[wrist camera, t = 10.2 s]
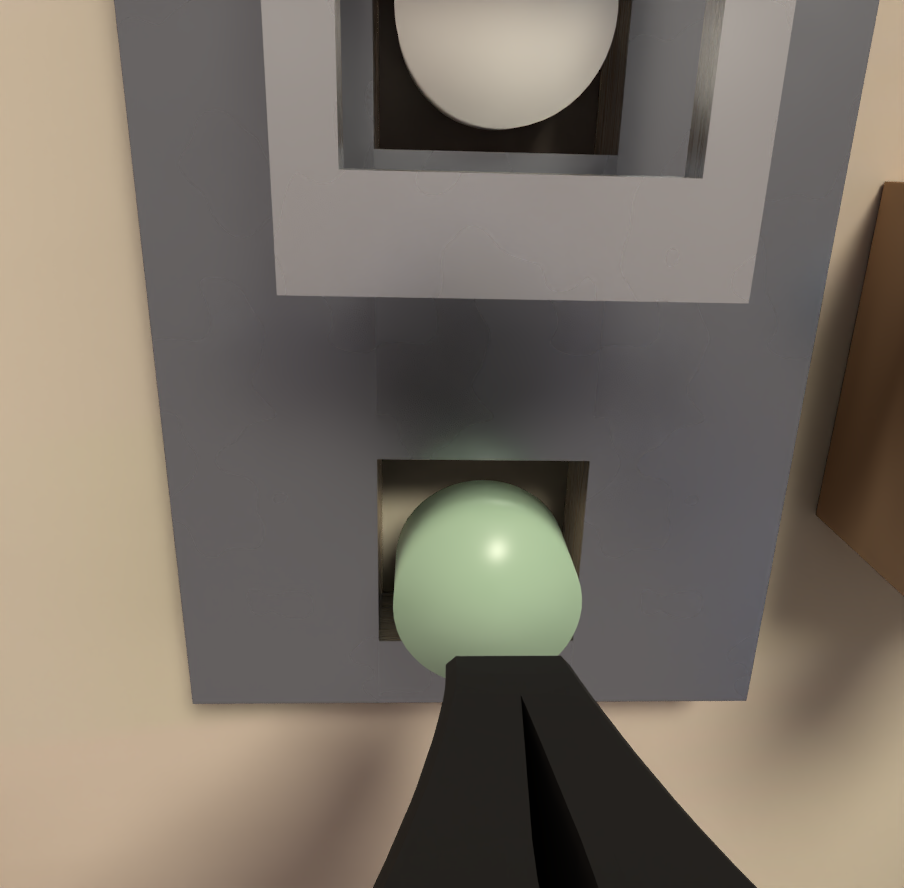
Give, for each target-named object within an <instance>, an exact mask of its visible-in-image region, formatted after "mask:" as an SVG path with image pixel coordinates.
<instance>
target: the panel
mask: <svg viewBox="0 0 904 888" xmlns="http://www.w3.org/2000/svg"><path fill="white" fill-rule="evenodd" d="M114 4H115V13H116V21H117V30H118V39H119V48H120V57H121V66H122V75H123V84H124V93H125V102H126V111H127V120H128V129H129V138H130V147H131V155H132V164H133V173H134V182H135V191H136V200H137V209H138V218H139V227H140V236H141V245H142V254H143V263H144V272H145V280H146V289H147V298H148V307H149V316H150V325H151V334H152V343H153V352H154V361H155V370H156V379H157V388H158V397H159V406H160V414H161V423H162V432H163V441H164V450H165V459H166V468H167V477H168V486H169V495H170V504H171V513H172V522H173V531H174V539H175V548H176V557H177V566H178V575H179V584H180V593H181V602H182V611H183V620H184V629H185V638H186V647H187V656H188V664H189V673H190V682H191V691H192V700H193V704H235V703H412V702H443V697H444V691H445V678H444V677H441V676H439V675H437V674H435V673H434V672H432V671H430V670H428V669H427V668H426V667H424V666H423V665H422V664H420V663H419V662H418V661H417V660H416V659H415V658H414V657H413V656H412V655H411V654H410V652H409V651H408V650H407V649H406V647H405V645H404V644H403V642H402V640H401V639H400V636H399V634H398V631H397V629H396V625H395V621H394V614H393V598H394V592H383V554H382V459H403V460H525V461H569V466H568V478H567V491H566V503H565V515H564V527H563V538H564V540H565V543H566V546H567V548H568V551H569V554H570V556H571V559H572V562H573V565H574V567H575V570H576V573H577V575H578V579H579V582H580V586H581V593H582V609H581V614H580V619H579V622H578V625H577V628H576V630H575V632H574V634H573V636H572V638H571V640H570V641H569V643H568V644H567V646H566V647H565V648H564V649H563V651H562V652H561V653H560V654H559V655H558V656H562V657H563V658H564V659H565V660H566V661H567V663H568V664H569V665H570V666H571V667H572V669H573V670H574V672H575V673H576V675H577V676H578V677H579V679H580V680H581V682H582V683H583V684H584V686H585V687H586V689H587V690H588V691H589V693H590V694H591V695H592V697H593V698H594V700H595V701H746V699H747V694H748V689H749V683H750V678H751V673H752V668H753V662H754V657H755V652H756V647H757V641H758V636H759V631H760V626H761V620H762V615H763V610H764V605H765V599H766V594H767V589H768V584H769V578H770V573H771V568H772V562H773V557H774V552H775V547H776V541H777V536H778V531H779V526H780V520H781V515H782V510H783V505H784V499H785V494H786V489H787V484H788V478H789V473H790V468H791V463H792V457H793V452H794V447H795V441H796V436H797V431H798V426H799V420H800V415H801V410H802V405H803V399H804V394H805V389H806V384H807V378H808V373H809V368H810V363H811V357H812V352H813V347H814V342H815V336H816V331H817V326H818V320H819V315H820V310H821V305H822V299H823V294H824V289H825V284H826V278H827V273H828V268H829V263H830V257H831V252H832V247H833V242H834V236H835V231H836V226H837V221H838V215H839V210H840V205H841V199H842V194H843V189H844V184H845V178H846V173H847V168H848V163H849V157H850V152H851V147H852V142H853V136H854V131H855V126H856V121H857V115H858V110H859V105H860V100H861V94H862V89H863V84H864V78H865V73H866V68H867V63H868V57H869V52H870V47H871V42H872V36H873V31H874V26H875V21H876V15H877V10H878V5H879V0H618V15H617V22H616V28H615V32H614V36H613V39H612V43H611V46H610V48H609V51H608V53H607V56H606V58H605V60H604V62H603V64H602V67H601V79H600V91H599V103H598V115H597V127H596V139H595V151H594V154H557V153H518V152H480V151H441V150H402V149H379V37H378V0H114Z"/></svg>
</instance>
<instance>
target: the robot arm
mask: <svg viewBox="0 0 904 888" xmlns="http://www.w3.org/2000/svg"><path fill="white" fill-rule="evenodd" d="M373 888H757V887H756V886H755V885H754V884H753V883H752V882H751V881H750V880H749V879H748V878H747V877H746V876H745V875H744V874H743V873H742V872H741V871H740V870H739V869H738V868H737V867H736V866H735V865H734V864H733V863H732V862H731V861H730V860H729V858H728V857H727V856H726V855H725V854H724V853H723V852H722V851H721V850H720V849H719V848H718V847H717V846H716V845H715V843H714V842H713V841H712V840H711V839H710V838H709V837H708V836H707V835H706V834H705V833H704V832H703V831H702V830H701V828H700V827H699V826H698V825H697V824H696V823H695V822H694V821H693V820H692V818H691V817H690V816H689V815H688V814H687V813H686V812H685V811H684V809H683V808H682V807H681V806H680V805H679V804H678V803H677V802H676V800H675V799H674V798H673V797H672V796H671V795H670V793H669V792H668V791H667V790H666V789H665V787H664V786H663V785H662V784H661V783H660V781H659V780H658V779H657V778H656V777H655V775H654V774H653V773H652V772H651V771H650V770H649V768H648V767H647V766H646V765H645V764H644V762H643V761H642V760H641V759H640V758H639V756H638V755H637V754H636V753H635V751H634V750H633V749H632V748H631V746H630V745H629V744H628V743H627V741H626V740H625V739H624V738H623V736H622V735H621V734H620V733H619V731H618V730H617V729H616V727H615V726H614V725H613V723H612V722H611V721H610V719H609V718H608V717H607V716H606V714H605V713H604V712H603V710H602V709H601V708H600V706H599V705H598V704H597V702H596V701H595V700H594V698H593V697H592V695H591V694H590V693H589V691H588V690H587V689H586V687H585V686H584V684H583V683H582V682H581V680H580V679H579V677H578V676H577V675H576V673H575V672H574V670H573V669H572V667H571V666H570V665H569V664H568V663H567V661H566V660H565V659H564V658H563V657H562V656H455V657H454V658H453V659H452V660H451V661H449V662H448V663H447V664H446V674H445V691H444V697H443V702H442V707H441V711H440V715H439V719H438V723H437V726H436V730H435V734H434V737H433V741H432V744H431V746H430V749H429V752H428V755H427V758H426V761H425V764H424V767H423V770H422V773H421V776H420V779H419V782H418V784H417V787H416V790H415V793H414V795H413V798H412V800H411V803H410V805H409V807H408V810H407V812H406V814H405V817H404V819H403V821H402V824H401V826H400V828H399V831H398V833H397V835H396V838H395V840H394V842H393V845H392V847H391V849H390V852H389V854H388V856H387V859H386V861H385V863H384V865H383V867H382V870H381V872H380V874H379V876H378V878H377V880H376V882H375V884H374V886H373Z"/></svg>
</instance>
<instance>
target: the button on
mask: <svg viewBox="0 0 904 888" xmlns="http://www.w3.org/2000/svg"><path fill="white" fill-rule="evenodd" d="M581 609H582V593H581V586H580V582H579V579H578V575H577V573H576V570H575V567H574V565H573V562H572V559H571V556H570V554H569V551H568V548H567V546H566V543H565V540H564V538H563V535H562V532H561V529H560V527H559V525H558V523H557V521H556V519H555V517H554V516H553V514H552V513H551V511H550V510H549V509H548V508H547V507H546V506H545V505H544V503H542V502H541V501H540V500H539V499H538V498H537V497H535V496H534V495H532V494H531V493H529V492H528V491H526V490H524V489H521V488H519V487H517V486H514V485H511V484H508V483H504V482H499V481H492V480H474V481H467V482H461V483H458V484H455V485H451V486H449V487H446V488H444V489H442V490H440V491H438V492H436V493H435V494H433V495H431V496H430V497H428V498H427V499H426V500H425V501H423V502H422V503H421V504H420V505H419V506H418V507H417V508H416V509H415V510H414V511H413V512H412V514H411V515H410V516H409V518H408V519H407V521H406V523H405V524H404V526H403V528H402V531H401V533H400V536H399V539H398V543H397V548H396V563H395V581H394V598H393V614H394V621H395V625H396V629H397V631H398V634H399V636H400V639H401V640H402V642H403V644H404V645H405V647H406V649H407V650H408V651H409V652H410V654H411V655H412V656H413V657H414V658H415V659H416V660H417V661H418V662H419V663H420V664H422V665H423V666H424V667H426V668H427V669H428V670H430V671H432V672H434V673H435V674H437V675H439V676H441V677H444V678H445V674H446V664H447V663H448V662H449V661H451V660H452V659H453V658H454V657H455V656H558V655H559V654H560V653H561V652H562V651H563V649H564V648H565V647H566V646H567V644H568V643H569V641H570V640H571V638H572V636H573V634H574V632H575V630H576V628H577V625H578V622H579V619H580V614H581Z"/></svg>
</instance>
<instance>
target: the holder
mask: <svg viewBox="0 0 904 888" xmlns="http://www.w3.org/2000/svg"><path fill="white" fill-rule="evenodd" d="M816 515H817V516H818V517H819V518H820V519H821V520H822V521H823V522H824V523H825V524H826V525H827V526H828V527H829V528H831V529H832V530H833V531H834V532H835V533H836V534H837V535H838V536H839V537H840V538H841V539H842V540H844V541H845V542H846V543H847V544H848V545H849V546H850V547H851V548H852V549H853V550H854V551H855V552H856V553H858V554H859V555H860V556H861V557H862V558H863V559H864V560H865V561H866V562H867V563H868V564H869V565H871V566H872V567H873V568H874V569H875V570H876V571H877V572H878V573H879V574H880V575H881V576H882V577H883V578H885V579H886V580H887V581H888V582H889V583H890V584H891V585H892V586H893V587H894V588H895V589H896V590H898V591H899V592H900V593H901V594H902V595H903V596H904V182H885V183H884V188H883V193H882V197H881V202H880V207H879V212H878V217H877V222H876V226H875V231H874V236H873V241H872V246H871V251H870V255H869V260H868V265H867V270H866V275H865V280H864V284H863V289H862V294H861V299H860V304H859V309H858V313H857V318H856V323H855V328H854V333H853V338H852V342H851V347H850V352H849V357H848V362H847V366H846V371H845V376H844V381H843V386H842V391H841V395H840V400H839V405H838V410H837V415H836V420H835V424H834V429H833V434H832V439H831V444H830V449H829V453H828V458H827V463H826V468H825V473H824V478H823V482H822V487H821V492H820V497H819V502H818V507H817V511H816Z"/></svg>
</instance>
